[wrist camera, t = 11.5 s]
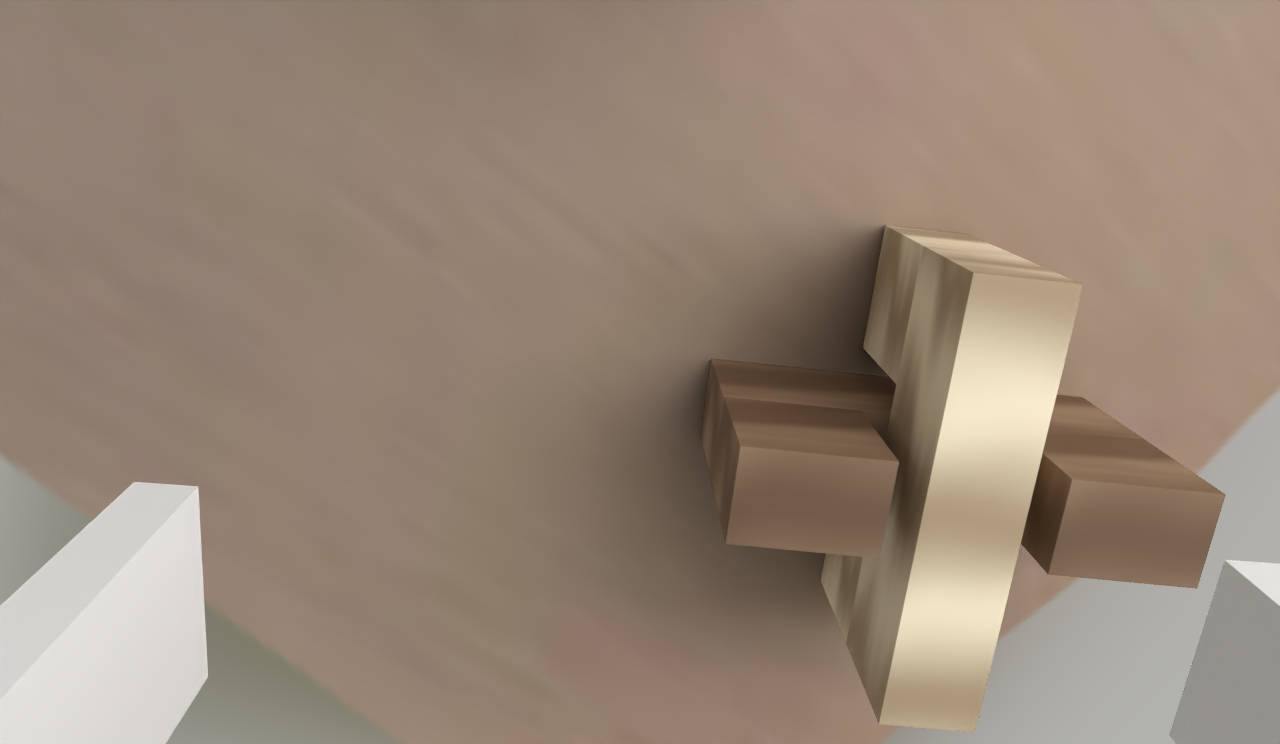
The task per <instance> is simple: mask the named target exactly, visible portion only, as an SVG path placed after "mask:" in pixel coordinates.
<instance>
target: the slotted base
mask: <svg viewBox="0 0 1280 744" xmlns="http://www.w3.org/2000/svg"><path fill="white" fill-rule="evenodd" d="M895 388H896V383H895V382H894V381H893V380H892V379H891V378H890V377H880V376H871V375H861V374H852V373H842V372H832V371H823V370H813V369H804V368H794V367H784V366H775V365H765V364H756V363H746V362H736V361H727V360H717V359H711V363H710V371H709V378H708V385H707V392H706V399H705V407H704V414H703V421H702V428H701V435H700V436H701V440H702V444H703V449H704V453H705V457H706V462H707V466H708V470H709V475H710V479H711V483H712V487H713V492H714V496H715V500H716V505H717V509H718V513H719V517H720V522H721V526H722V530H723V535H724V539H725V543H726V544H731V545H742V546H753V547H763V548H774V549H784V550H795V551H806V552H816V553H827V554H837V555H848V556H859V557H869V558H880V555H881V550H882V545H883V540H884V535H885V530H886V525H887V520H888V515H889V510H890V505H891V500H892V495H893V490H894V485H895V480H896V475H897V470H898V465H899V461H898V460H897V458H896V457H895V456H894V454H893V453H892V452H891V450H890V449H889V448H888V446H887V445H886V443H885V440H886V435H887V430H888V425H889V419H890V414H891V409H892V404H893V399H894V394H895ZM1224 498H1225V494H1224V493H1222V492H1221V491H1220V490H1218V489H1217V488H1215V487H1214V486H1212V485H1211V484H1209V483H1208V482H1206V481H1205V480H1203V479H1202V478H1200V477H1199V476H1198V475H1196V474H1195V473H1193V472H1192V471H1190V470H1189V469H1187V468H1186V467H1184V466H1183V465H1181V464H1180V463H1178V462H1177V461H1175V460H1174V459H1172V458H1171V457H1170V456H1168V455H1167V454H1165V453H1164V452H1162V451H1161V450H1159V449H1158V448H1156V447H1155V446H1153V445H1152V444H1150V443H1149V442H1147V441H1146V440H1144V439H1143V438H1142V437H1140V436H1139V435H1137V434H1136V433H1134V432H1133V431H1131V430H1130V429H1128V428H1127V427H1125V426H1124V425H1122V424H1121V423H1119V422H1118V421H1117V420H1115V419H1114V418H1112V417H1111V416H1109V415H1108V414H1106V413H1105V412H1103V411H1102V410H1100V409H1099V408H1097V407H1096V406H1094V405H1093V404H1091V403H1090V402H1089V401H1087V400H1086V399H1084V398H1082V397H1072V396H1063V395H1057V396H1056V400H1055V404H1054V408H1053V412H1052V416H1051V420H1050V425H1049V429H1048V433H1047V437H1046V441H1045V445H1044V449H1043V453H1042V458H1041V462H1040V466H1039V470H1038V474H1037V478H1036V482H1035V486H1034V491H1033V495H1032V499H1031V503H1030V507H1029V511H1028V515H1027V520H1026V524H1025V528H1024V532H1023V536H1022V540H1021V544H1022V545H1023V546H1024V547H1025V548H1026V550H1027V551H1028V552H1029V553H1030V554H1031V555H1032V556H1033V558H1034V559H1035V560H1036V561H1037V562H1038V563H1039V564H1040V566H1041V567H1042V568H1043V569H1044V570H1045V571H1046V572H1047V574H1049V575H1060V576H1071V577H1081V578H1092V579H1102V580H1113V581H1124V582H1134V583H1145V584H1155V585H1166V586H1177V587H1188V588H1197V587H1198V584H1199V581H1200V577H1201V574H1202V571H1203V567H1204V564H1205V561H1206V557H1207V554H1208V551H1209V547H1210V544H1211V540H1212V538H1213V534H1214V531H1215V528H1216V524H1217V521H1218V518H1219V514H1220V511H1221V508H1222V504H1223V501H1224Z"/></svg>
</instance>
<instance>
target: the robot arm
mask: <svg viewBox="0 0 1280 744" xmlns="http://www.w3.org/2000/svg"><path fill="white" fill-rule="evenodd" d="M204 611H205V609H204V590H203V571H202V551H201V532H200V512H199V493H198V486H184V485H170V484H156V483H142V482H134V483H133V484H132V485H130V486H129V487H128V488H127V489H126V490H125V491H124V492H123V493H122V494H121V495H120V496H119V497H117V498H116V499H115V500H114V501H113V502H112V503H111V504H110V505H109V506H108V507H107V508H106V509H104V510H103V511H102V512H101V513H100V514H99V515H98V516H97V517H96V518H95V519H94V520H93V521H91V522H90V523H89V524H88V525H87V526H86V527H85V528H84V529H83V530H82V531H81V532H80V533H79V534H78V535H76V536H75V537H74V538H73V539H72V540H71V541H70V542H69V543H68V544H67V545H65V546H64V547H63V548H62V549H61V550H60V551H59V552H58V553H57V554H56V555H55V556H54V557H52V558H51V559H50V560H49V561H48V562H47V563H46V564H45V565H44V566H43V567H42V568H41V569H39V571H37V572H36V573H35V574H34V575H33V576H32V577H31V578H30V579H29V580H28V581H26V582H25V583H24V584H23V585H22V586H21V587H20V588H19V589H18V590H17V591H16V592H15V593H14V594H12V595H11V596H10V597H9V598H8V599H7V600H6V601H5V602H4V603H3V604H2V605H1V606H0V744H166V742H167V741H168V739H169V737H170V736H171V734H172V733H173V731H174V730H175V728H176V726H177V725H178V723H179V722H180V720H181V718H182V717H183V715H184V714H185V712H186V711H187V709H188V707H189V706H190V704H191V703H192V701H193V700H194V698H195V696H196V695H197V693H198V692H199V690H200V689H201V687H202V685H203V684H204V682H205V681H206V679H207V678H208V670H207V669H208V668H207V649H206V630H205V612H204ZM1170 736H1171V738H1172V739H1173V740H1174V741H1175V743H1176V744H1280V564H1276V563H1262V562H1247V561H1233V560H1225V561H1224V564H1223V567H1222V570H1221V573H1220V577H1219V580H1218V583H1217V586H1216V589H1215V592H1214V596H1213V599H1212V602H1211V605H1210V608H1209V612H1208V615H1207V618H1206V621H1205V624H1204V628H1203V631H1202V634H1201V637H1200V640H1199V643H1198V646H1197V650H1196V653H1195V656H1194V659H1193V662H1192V665H1191V669H1190V672H1189V675H1188V678H1187V681H1186V685H1185V688H1184V691H1183V694H1182V697H1181V700H1180V704H1179V707H1178V710H1177V713H1176V716H1175V719H1174V723H1173V726H1172V729H1171V732H1170Z"/></svg>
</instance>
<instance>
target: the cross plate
mask: <svg viewBox="0 0 1280 744" xmlns="http://www.w3.org/2000/svg"><path fill="white" fill-rule="evenodd" d="M1082 288H1083V284H1081V283H1079V282H1076V281H1074V280H1072V279H1069V278H1067V277H1065V276H1062V275H1060V274H1058V273H1056V272H1053V271H1051V270H1049V269H1046V268H1044V267H1042V266H1039V265H1037V264H1035V263H1033V262H1030V261H1028V260H1026V259H1023V258H1021V257H1019V256H1016V255H1014V254H1012V253H1010V252H1007V251H1005V250H1003V249H1000V248H998V247H996V246H994V245H991V244H989V243H987V242H984V241H982V240H980V239H977V238H975V237H973V236H971V235H968V234H959V233H950V232H941V231H932V230H923V229H914V228H905V227H896V226H887V225H885V230H884V235H883V241H882V246H881V252H880V257H879V263H878V268H877V274H876V279H875V285H874V290H873V296H872V301H871V307H870V312H869V318H868V323H867V329H866V334H865V340H864V345H863V348H864V350H865V351H866V352H867V353H868V354H869V355H870V356H871V357H872V358H873V359H874V360H875V361H876V363H877V364H878V365H879V366H880V367H881V368H882V369H883V370H884V371H885V372H886V373H887V374H888V376H889V377H890V378H891V379H892V380H893V381H894V382H895V383H896V388H895V394H894V399H893V404H892V409H891V414H890V419H889V425H888V430H887V435H886V440H885V443H886V445H887V446H888V448H889V449H890V450H891V452H892V453H893V454H894V456H895V457H896V458H897V460H898V461H899V465H898V470H897V475H896V480H895V485H894V490H893V495H892V500H891V505H890V510H889V515H888V520H887V525H886V530H885V535H884V540H883V545H882V550H881V555H880V558H869V557H859V556H848V555H837V554H827V553H826V554H825V560H824V565H823V571H822V576H821V583H822V585H823V587H824V590H825V592H826V595H827V597H828V600H829V602H830V605H831V607H832V610H833V612H834V615H835V617H836V619H837V622H838V624H839V627H840V629H841V632H842V634H843V637H844V639H845V642H846V644H847V647H848V649H849V651H850V654H851V656H852V659H853V661H854V664H855V666H856V669H857V671H858V674H859V676H860V679H861V681H862V683H863V686H864V688H865V691H866V693H867V696H868V698H869V701H870V703H871V706H872V708H873V710H874V713H875V715H876V718H877V720H878V723H879V724H886V725H898V726H909V727H922V728H933V729H945V730H957V731H969V732H975V730H976V726H977V722H978V718H979V713H980V709H981V705H982V701H983V697H984V693H985V689H986V685H987V680H988V676H989V672H990V668H991V664H992V660H993V656H994V652H995V648H996V643H997V639H998V635H999V631H1000V627H1001V623H1002V619H1003V615H1004V610H1005V606H1006V602H1007V598H1008V594H1009V590H1010V586H1011V581H1012V577H1013V573H1014V569H1015V565H1016V561H1017V557H1018V553H1019V548H1020V544H1021V540H1022V536H1023V532H1024V528H1025V524H1026V520H1027V515H1028V511H1029V507H1030V503H1031V499H1032V495H1033V491H1034V486H1035V482H1036V478H1037V474H1038V470H1039V466H1040V462H1041V458H1042V453H1043V449H1044V445H1045V441H1046V437H1047V433H1048V429H1049V425H1050V420H1051V416H1052V412H1053V408H1054V404H1055V400H1056V396H1057V391H1058V387H1059V383H1060V379H1061V375H1062V371H1063V367H1064V363H1065V358H1066V354H1067V350H1068V346H1069V342H1070V338H1071V334H1072V329H1073V325H1074V321H1075V317H1076V313H1077V309H1078V305H1079V301H1080V296H1081V292H1082Z"/></svg>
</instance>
